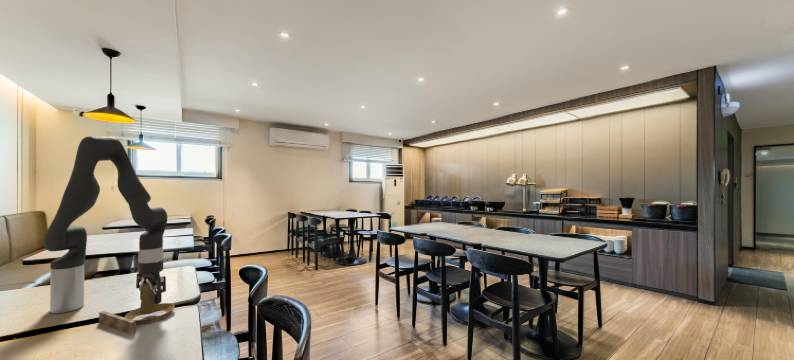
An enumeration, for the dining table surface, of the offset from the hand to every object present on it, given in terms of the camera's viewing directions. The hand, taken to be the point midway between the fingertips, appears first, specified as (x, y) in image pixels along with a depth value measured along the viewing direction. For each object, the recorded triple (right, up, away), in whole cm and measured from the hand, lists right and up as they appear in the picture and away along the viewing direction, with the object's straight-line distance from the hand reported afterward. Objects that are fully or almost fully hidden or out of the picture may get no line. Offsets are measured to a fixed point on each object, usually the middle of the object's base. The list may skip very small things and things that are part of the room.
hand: (150, 301), depth 115 cm
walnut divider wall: (-5, -6, -9) cm, 12 cm away
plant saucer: (0, -7, 0) cm, 6 cm away
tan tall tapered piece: (0, -4, 0) cm, 4 cm away
